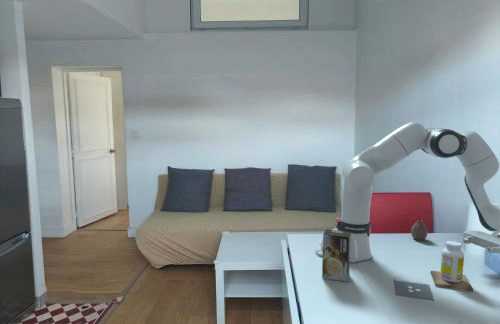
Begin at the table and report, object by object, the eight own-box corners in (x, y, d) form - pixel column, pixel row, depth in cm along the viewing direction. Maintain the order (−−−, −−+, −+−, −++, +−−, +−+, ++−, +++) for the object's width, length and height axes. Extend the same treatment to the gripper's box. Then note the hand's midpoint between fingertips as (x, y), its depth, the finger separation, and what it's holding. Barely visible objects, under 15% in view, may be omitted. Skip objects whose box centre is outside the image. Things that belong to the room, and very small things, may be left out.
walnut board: (435, 286, 123) (435, 283, 123) (430, 273, 134) (430, 270, 133) (472, 291, 120) (472, 288, 120) (464, 277, 130) (464, 274, 130)
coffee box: (350, 275, 131) (352, 231, 129) (348, 282, 125) (350, 237, 123) (324, 270, 135) (326, 228, 133) (321, 278, 129) (322, 233, 127)
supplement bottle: (459, 276, 129) (462, 241, 127) (463, 284, 122) (467, 247, 121) (438, 273, 131) (441, 238, 129) (441, 281, 125) (444, 245, 123)
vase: (428, 242, 167) (430, 223, 166) (412, 241, 168) (413, 222, 167) (424, 237, 173) (426, 219, 172) (409, 236, 175) (410, 218, 174)
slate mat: (396, 295, 117) (396, 294, 117) (394, 280, 127) (394, 279, 127) (434, 300, 113) (434, 300, 113) (428, 285, 124) (429, 284, 124)
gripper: (479, 225, 144) (452, 228, 139) (534, 242, 124) (505, 246, 120) (477, 240, 144) (450, 244, 140) (532, 260, 125) (503, 265, 121)
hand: (476, 245), depth 130 cm, fingers open, 8 cm apart
